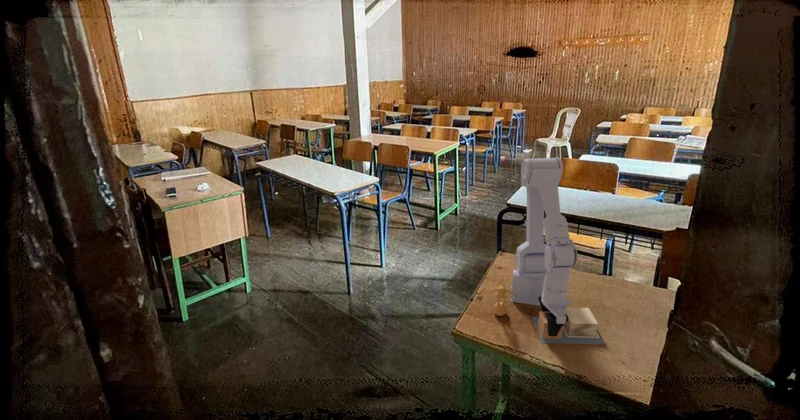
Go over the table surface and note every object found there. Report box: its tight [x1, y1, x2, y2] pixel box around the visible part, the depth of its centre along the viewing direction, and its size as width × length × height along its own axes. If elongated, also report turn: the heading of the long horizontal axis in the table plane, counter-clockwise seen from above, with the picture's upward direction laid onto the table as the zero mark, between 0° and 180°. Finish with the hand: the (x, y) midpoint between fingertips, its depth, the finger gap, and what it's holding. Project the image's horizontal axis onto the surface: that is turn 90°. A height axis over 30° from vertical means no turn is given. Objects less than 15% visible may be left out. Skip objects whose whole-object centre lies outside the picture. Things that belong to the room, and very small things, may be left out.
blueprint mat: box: [532, 316, 605, 345], centre depth 114 cm, size 16×11×1 cm
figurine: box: [486, 282, 517, 317], centre depth 118 cm, size 8×6×12 cm
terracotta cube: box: [538, 310, 563, 339], centre depth 112 cm, size 5×5×5 cm
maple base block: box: [564, 306, 599, 336], centre depth 114 cm, size 7×7×4 cm
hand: (549, 328), depth 113 cm, fingers closed on terracotta cube, 5 cm apart
